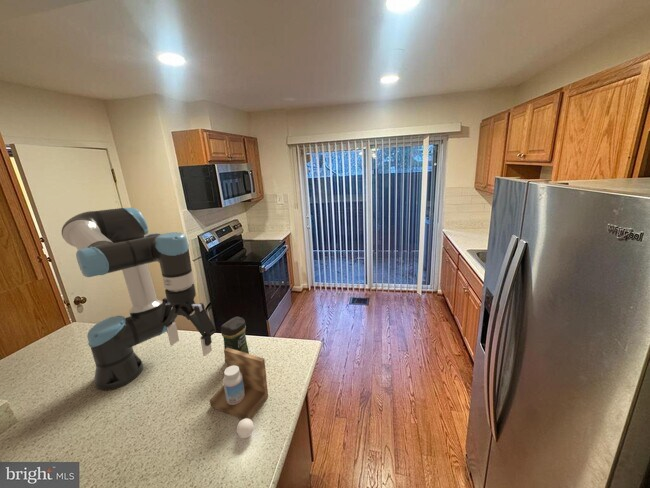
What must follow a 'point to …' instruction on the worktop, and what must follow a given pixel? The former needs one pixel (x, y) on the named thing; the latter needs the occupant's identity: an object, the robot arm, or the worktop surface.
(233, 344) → the coffee jar
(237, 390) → the pill bottle
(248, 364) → the brown piece
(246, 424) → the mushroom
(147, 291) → the robot arm
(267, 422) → the worktop surface
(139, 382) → the worktop surface
